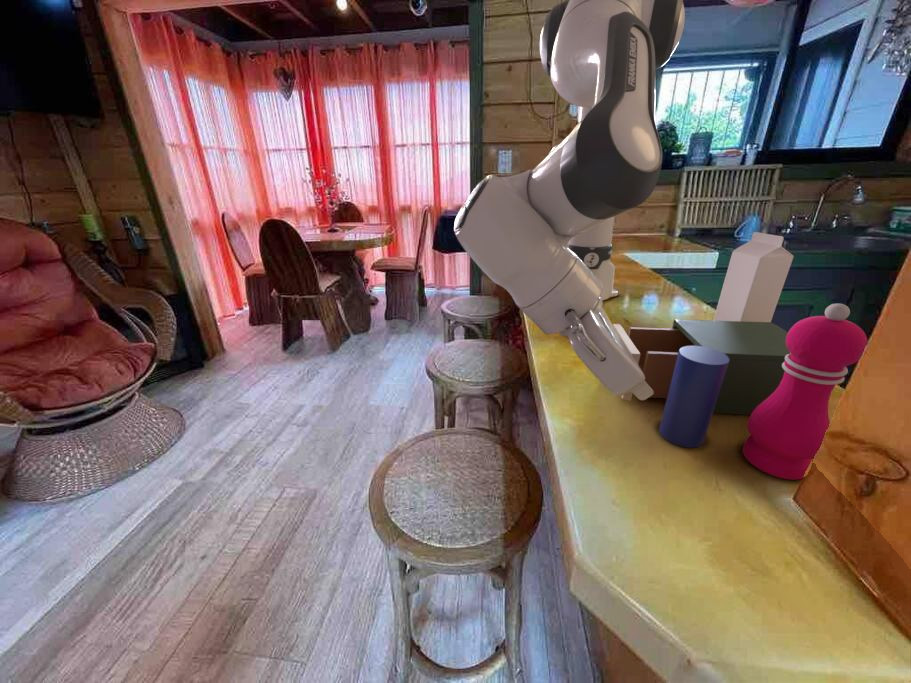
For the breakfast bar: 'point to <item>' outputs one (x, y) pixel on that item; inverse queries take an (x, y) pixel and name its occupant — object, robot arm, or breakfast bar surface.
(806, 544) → the breakfast bar surface
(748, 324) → the cabinet
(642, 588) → the breakfast bar surface
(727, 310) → the milk
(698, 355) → the can
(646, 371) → the drawer
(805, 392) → the pepper mill
